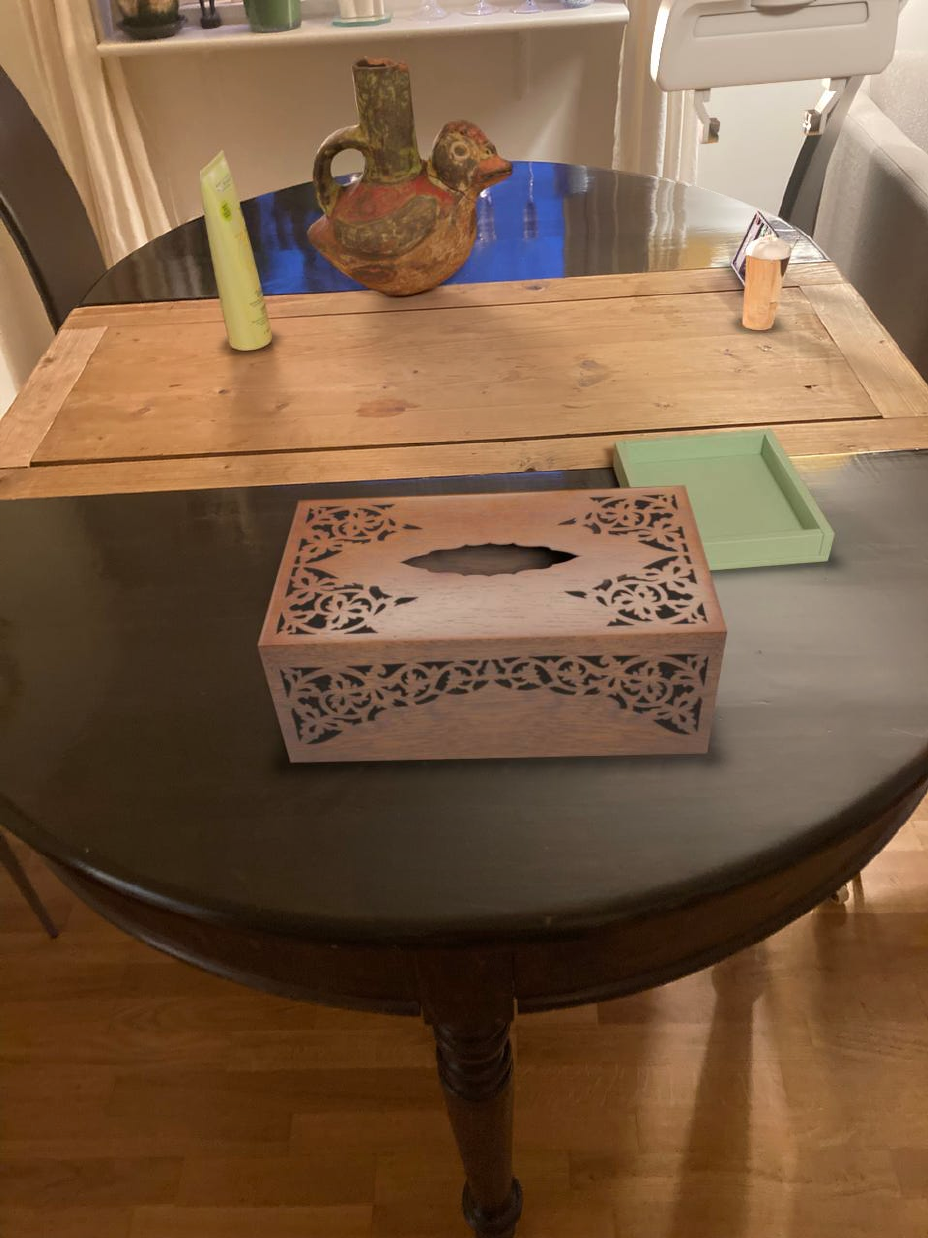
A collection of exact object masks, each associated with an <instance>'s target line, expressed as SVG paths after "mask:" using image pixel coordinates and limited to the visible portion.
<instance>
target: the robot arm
mask: <svg viewBox="0 0 928 1238" xmlns="http://www.w3.org/2000/svg"><path fill="white" fill-rule="evenodd" d="M899 8H900V0H662V1H661V3H660V5H659V7H658V11H657V16H656V17H657V18H656V22H655V27H654V33H653V41H652V48H651V56H650V77H651V79H652V81H653V82H654V84H655V85H656V86H657V87H658V89H659V90H661V91H662V92H665V93H668V92H669V93H670V92H681V91H689V94H688V99H689V101H690V103H691V106H692V108H693V110H694V112H695V114H696V116H697V119H698V120H699V124H698V142H699V143H700V145H707V144H718V143H719V140H720V139H719V138H720V135H719V134H718V133H719V132H720V127H721V122H720V120H718V118H717V117H709V114H708V112H707V110H706V107H705V105H704V103H709V102H710V99H711V91H712V90H711V89H718V88H731V87H740V86H753V85H764V84H766V85H767V84H776V83H777V84H778V83H790V82H800V81H802V82H803V81H814V80H815V81H816V80H822V81H821V87H822V88H823V89H825V91H824V92H823V94H822V95H821V97H820V98H819V100H818V102H817V104H816V105H815V107H814V109H804V110H805V111H804V117H803V119H804V121H803V124H802V133H803V134H805V136H819V135H824V134H825V131H826V127H827V119H828V114H830V112H831V111H832V109H834V107H835V105H836V104H837V103H838V102H839V100H840V98H841V97H842V95H843V94H844V92H845V90H846V84H847V80H848V79H847V78H848V77H849V78H850V77H860V76H861V77H862V76H873V75H880V74H883V72H884V71H885V70H886V69H887V67H889V65H890V63H892V61H893V59H894V56H895V55H894V54H895V50H896V42H897V35H898V27H899V11H900V10H899Z"/></svg>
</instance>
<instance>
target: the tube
mask: <svg viewBox="0 0 928 1238" xmlns="http://www.w3.org/2000/svg"><path fill="white" fill-rule="evenodd" d="M199 188H200V196H201V204H202V209H203V216H204V223H205V227H206V234H207V239H208V246H209V250H210V257H211V263H212V268H213V272H214V278H215V282H216V287H217V293H218V299H219V302H220V303H219V304H220V308H221V312H222V317H223V321H224V326H225V331H226V335H227V340H228V343H229V346H230V347H231V348H232V349H234V350H237V351H243V352H244V351H245V352H246V351H247V352H248V351H256V350H258V349H262V348H265V347H266V346H267V345H269V344H270V343H271V342H272V339H273V335H272V330H271V324H270V322H269V321H270V320H269V315H268V311H267V307H266V303H265V299H264V294H263V293H264V292H263V290H262V285H261V281H260V278H259V277H260V276H259V272H258V268H257V264H256V260H255V256H254V252H253V248H252V244H251V240H250V236H249V233H248V229H247V224H246V221H245V218H244V214H243V211H242V207H241V203H240V200H239V196H238V192H237V188H236V186H235V182H234V178H233V175H232V173H231V170H230V167H229V164H228V161H227V158H226V155H225V152H224V150H223V149H221V151H220V152H219V153H218V154H216V156H215V157H214V158H213V159H212V160H211V161H210V162H209V163H208V164H207V165H206V166H205V167H204V168H202V170H200V171H199Z"/></svg>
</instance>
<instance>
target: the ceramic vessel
mask: <svg viewBox="0 0 928 1238" xmlns="http://www.w3.org/2000/svg"><path fill="white" fill-rule="evenodd" d="M350 67H351V76H352V81H353V91H354V99H355V105H356V110H357V115H358V124H356V125H349V126H345V127H341V128H339V129H337V130H335V131H334V132H332V133H330V135H328V136H326V138H325V139H324V141H323V142H322V143H321V145H320V146H319V147H318V150H317V152H316V154H315V156H314V160H313V168H312V183H313V184H312V185H313V190H314V194H315V197H316V200H317V203H318V205H319V207H320V208H321V210H322V211H323V215H322V216H321V217H320V218H319V219H317V220H316V221H314V223H312V224H311V225H310V227H309V228H308V230H307V232H306V235H307V238H308V241H309V242H310V243H311V245H312V246H313V247H314V248H315V250H316V251H317V252H318V253H319V254H320V255H321V256H322V257H323V258H324V259H325V260H326V261H328V262H329V263H330V264H331V265H332V266H333V267H335V268H336V269H337V270H338V271H339V272H340V273H342V274H343V275H345V276H347V277H348V278H350V279H351V280H353V281H355V282H356V283H358V284H360V285H361V286H363V287H366V288H367V289H370V290H371V291H376V292H378V293H382V294H387V295H390V296H391V295H392V296H409V295H414V294H418V293H420V292H424V291H428V290H429V289H432V288H435V287H437V286H440V285H441V284H443V283H444V282H445V281H447V280H448V279H449V278H451V277H452V276H453V275H454V274H455V273H457V271H459V270H460V269H461V267H462V266H463V265H464V264H465V262H466V261H467V260H468V258H469V257H470V256H471V253H472V251H473V250H474V249H473V248H474V246H475V244H476V239H477V234H478V209H477V208H478V207H477V203H478V200H479V197H480V195H481V193H482V192H484V191H485V190H487V189H488V188H490V187H492V186H495V185H497V184H499V183H501V182H502V181H505V180H507V179H508V178H509V177H510V176H512V175H513V173H514V170H513V169H514V164H513V162H512V161H510V160H507V159H505V158H502V157H501V156H500V155H499V153H498V150H497V148H496V145H495V144H493V142H491V140H490V139H488V137H487V136H486V134H485V133H484V132H483V131H482V130H481V128H480V127H479V126H478V125H477V124H476V123H473V122H471V121H469V120H466V119H453V120H449V121H447V122H444V124H442V126H441V127H440V130H439V132H438V134H437V135H436V137H435V139H434V140H433V142H432V146H431V149H430V152H429V156H428V158H427V159H423V158H421V156H420V152H419V147H418V140H417V133H416V126H415V116H414V108H413V99H412V90H411V89H412V87H411V78H410V71H409V67H408V64H407V61H405V60H402V59H401V60H400V61H399V62H395V61H394V60H393V59H390V58H388V57H379V58H370V57H369V56H367V55H363V56H360V57H358V58H356V59H355V60H353V62H352V63H351V66H350ZM349 149H353V150H356V151H359V152H361V154H362V157H363V159H364V165H363V167H364V169H363V172H362V174H361V175H360V176H359V177H357V178H356V179H354V180H352V181H350V182H349V183H345V184H341V183H338V182H336V181H335V179H334V177H333V175H332V170H331V168H332V163H333V159H334V158H335V157H336V156H338V154H339V153H341V152H343V151H345V150H349Z"/></svg>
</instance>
